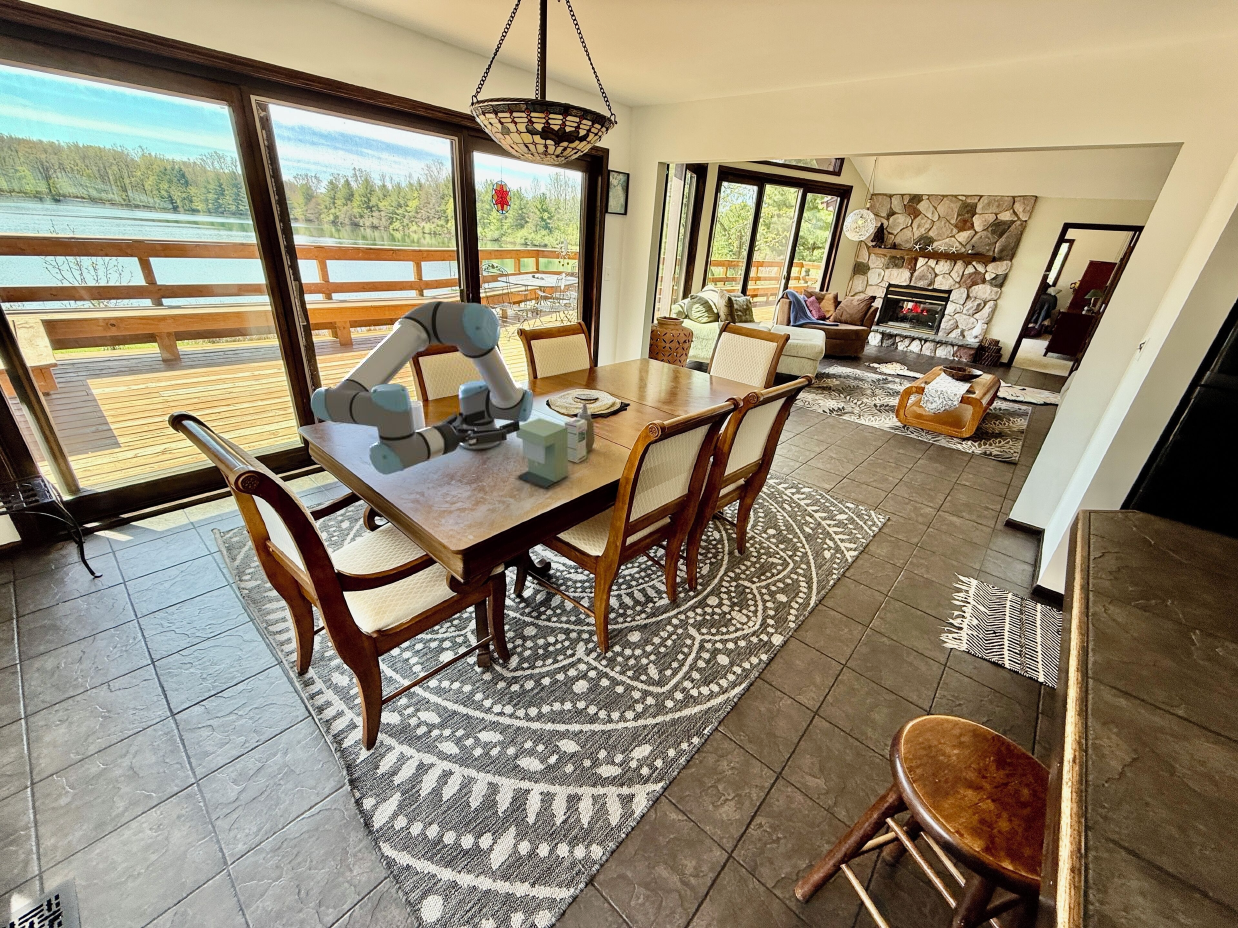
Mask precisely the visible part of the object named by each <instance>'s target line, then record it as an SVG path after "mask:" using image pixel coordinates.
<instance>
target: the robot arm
mask: <svg viewBox="0 0 1238 928" xmlns="http://www.w3.org/2000/svg"><path fill="white" fill-rule="evenodd" d="M500 337H501V327H500V320H499V317H498V315H497V313H496V312H495V310H494V309H492V307H490V306H489V305H486V304H482V303H481V304H480V303H477V302H472V303H471V302H457V301H443V300H433V301H429V302H425V303H422V304H420V305H418V306H416V307H414V308H413V309H410V310H409V311H408V312H406V313H405V314H403V315H402V316H401V317H400V318H399V319H398V320H397V321H396V322H395V323H394V325H393V330H392V331H391V333H389V334H388V336H386V337H385V338H384V339H383V340H382V341H381V342H380V343H379V344H378V345H377V346H376V347H375V348H373V350H372V351H371V352H370V353H369V354H368V355H366V357H365V358H364V359H363V360H362V361H360V362H359V363H358V364H357V365H356V366H355V367H354V368H353V369H352V370H351V371H350V372H348V374H347V375H346V376H344V378H342V380H341V381H340V382H339V383H338V384H337V385H336V386H335V387H331V386H327V387H320V388H316V390H315V391H314V392H313V394H312V396H311V398H310V408H311V411H312V413H313V414H314V416H315V417H316V418H318V419H320V420H322V421H327V422H332V423H335V424H337V423H340V424H348V425H349V424H350V425H359V426H367V427H375V428H376V430H377V434H378V440H379V441H376V442H375V443H373V444H372V445H370V448H369V452H368V455H369V460H370V462H371V465H372V467H373V468H374V469H375V470H376V471H377V472H378V473H380V474H382V475H386V476H388V475H392V474H394V473H397V472H403V471H405V470H406V469H409V468H411V467H414V466H416V465H419V464H422V463H425V462H430V461H431V460H433V459H435V458H438V457H441V456H445V455H447V454H450V453H453V452H455V451H457V449H458V447H459V446H460V447H461V448H462V449H466V450H470V451H482V450H490V449H492V448H495V447H497V446H499V445H500V444H501V442H505V441H508V437H507V436H508V435H511V434H512V433H516V431H518V430H520V426H519V425H520V423H527V422H528V420H529V419H530V418H531V415H532V412H533V408H534V393H533V391H532V390H531V389H528V388H527V389H524V388H523V386H522V385H521V382H519V381H518V380H515V379H514V377H513V375H512V374H511V372H510V370H509V368H508V365H507V364H506V362H505V360H504V358H503V356H502V354H501V352H500V350H499V348H498V347H497V345H498V343H499V341H500ZM432 345H446V346H455V347H457V349H458V351H459V352H460V354H461V355H462V356H463V357H465V358H467V359H470V360H471V362H472V364H473V365H474V367H475V368H476V370H477V372H478V373H479V375H480V377H481V378H482V379H477V380H472V381H468V382H465V383H463V384H461V385H460V386H459V388H458V399H459V409H460V412H458V414H457V413H454V414H452V415H450V416H448V417H447V418H446V419H445V420H443V421H442V422H440V423H437V424H435V425H431V426H428V427H425V428H424V429H421V430H418V431H415V430H414V422H413V414H412V404H411V401H412V400H411V397H410V392H409V389H408V387H407V386H405V385H403V384H400V383H390V382H391V381H392V380H393V379H394V378H395V377H396V375H398V373H399V372H400V371H401V370H402V369H403V368H404V367H405V366H406V365H407V363H408V362H410V360H411V359H412V358H413V357H414V356H415V355H416V354H417V353H418V352H423V351H425V350H426V349H427V348H428V347H429V346H432ZM495 420H500V421H511V422H508V423H505V424H502V425H500V426H499V427H497V424H496V422H495Z"/></svg>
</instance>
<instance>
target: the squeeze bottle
mask: <svg viewBox="0 0 1238 928" xmlns="http://www.w3.org/2000/svg"><path fill="white" fill-rule="evenodd" d="M577 418H581V419H584V420H587V453H589V452H591V451H592V449H593V447H594V444H595V442H596V440H595V427H594V419H593V418H592V413H591V411H589V410H588V405H587V403H586V402H582V406H581V410H580V411H578V413H577Z"/></svg>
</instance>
